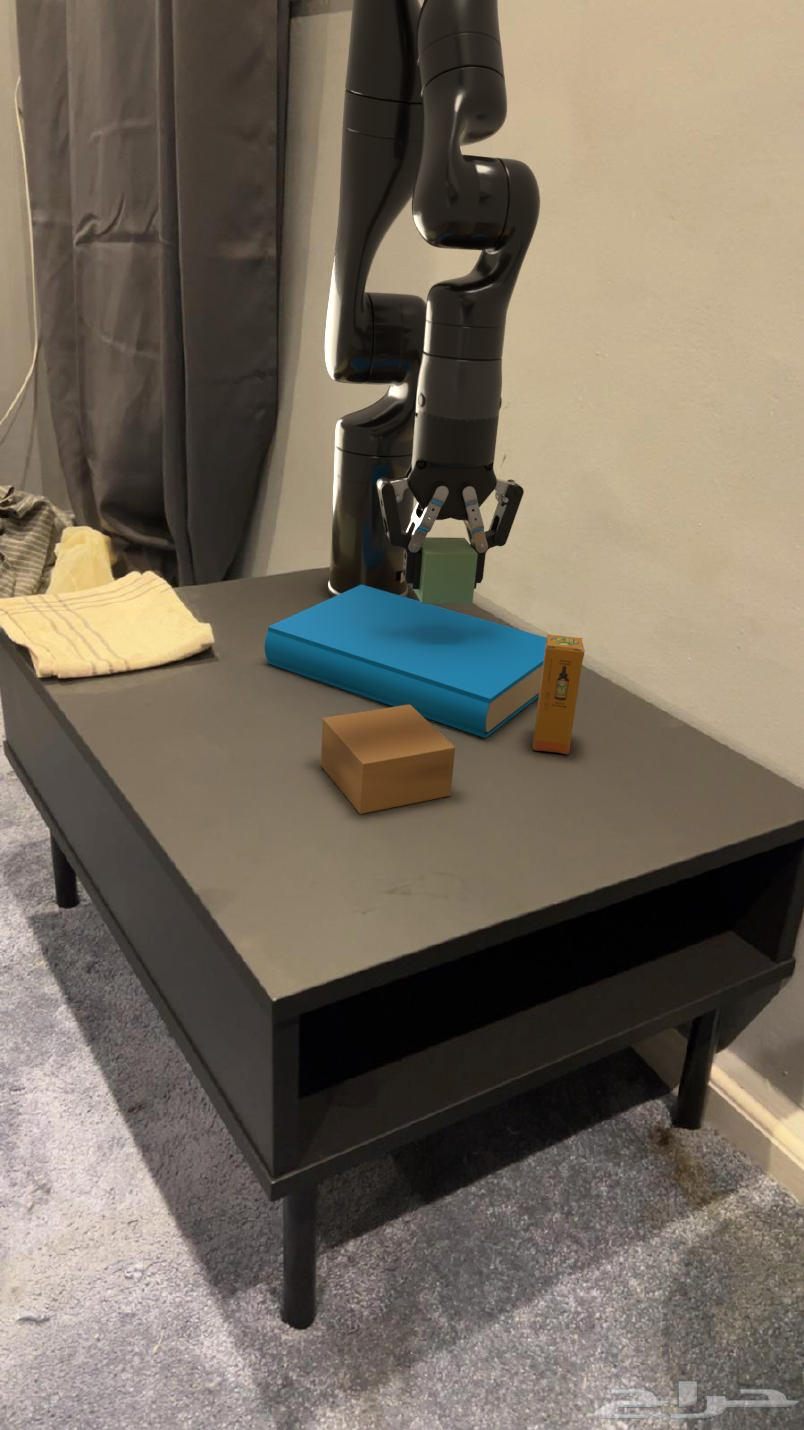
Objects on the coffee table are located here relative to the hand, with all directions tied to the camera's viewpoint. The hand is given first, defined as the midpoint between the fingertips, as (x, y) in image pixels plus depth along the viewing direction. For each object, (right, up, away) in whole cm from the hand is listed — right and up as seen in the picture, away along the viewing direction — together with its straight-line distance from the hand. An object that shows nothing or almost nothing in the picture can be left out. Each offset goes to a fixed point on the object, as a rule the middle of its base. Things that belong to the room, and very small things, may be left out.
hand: (441, 585), depth 102 cm
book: (-3, -8, +4) cm, 10 cm away
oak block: (-5, -18, -16) cm, 24 cm away
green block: (0, -1, 0) cm, 1 cm away
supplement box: (+9, -15, -8) cm, 20 cm away
